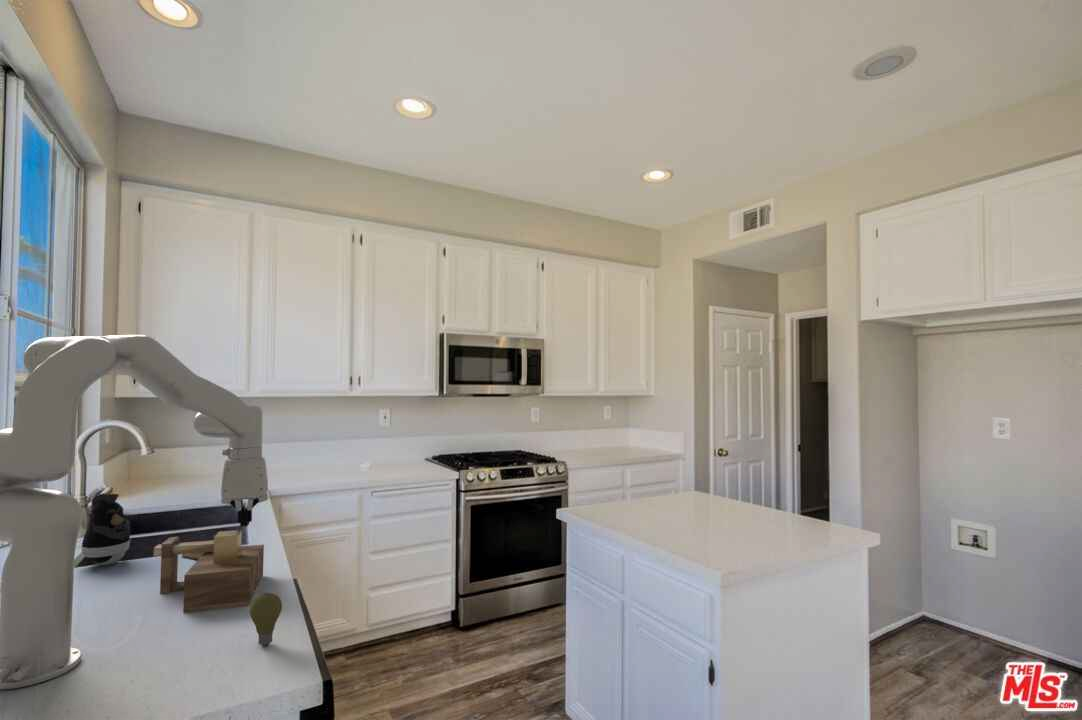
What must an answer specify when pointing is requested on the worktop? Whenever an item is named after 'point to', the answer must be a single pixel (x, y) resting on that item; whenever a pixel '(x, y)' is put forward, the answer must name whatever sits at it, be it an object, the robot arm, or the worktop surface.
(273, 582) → the worktop surface
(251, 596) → the wooden box
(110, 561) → the black rounded piece
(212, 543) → the wooden key
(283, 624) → the worktop surface
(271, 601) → the light bulb
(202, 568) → the lid
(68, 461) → the robot arm
